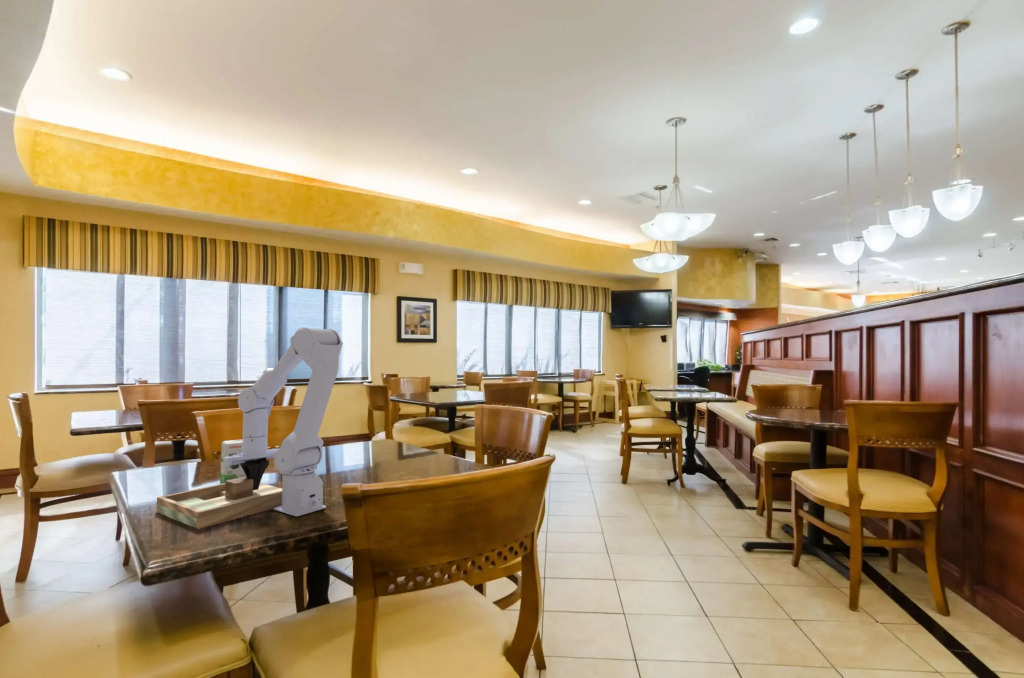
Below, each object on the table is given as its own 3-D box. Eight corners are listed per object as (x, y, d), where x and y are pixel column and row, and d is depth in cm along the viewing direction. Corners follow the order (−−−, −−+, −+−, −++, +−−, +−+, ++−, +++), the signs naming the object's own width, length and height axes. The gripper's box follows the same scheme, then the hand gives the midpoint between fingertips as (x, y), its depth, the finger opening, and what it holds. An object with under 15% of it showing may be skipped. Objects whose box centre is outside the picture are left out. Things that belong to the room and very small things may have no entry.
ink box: (223, 485, 139) (224, 443, 139) (219, 481, 143) (220, 441, 143) (256, 480, 145) (257, 440, 145) (252, 477, 148) (252, 438, 149)
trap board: (300, 501, 124) (300, 487, 124) (198, 529, 104) (199, 512, 104) (256, 489, 135) (256, 476, 135) (156, 512, 115) (156, 497, 115)
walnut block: (253, 495, 122) (253, 479, 122) (234, 500, 118) (235, 483, 118) (243, 492, 124) (243, 477, 124) (225, 497, 121) (225, 480, 121)
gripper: (273, 430, 133) (272, 480, 133) (217, 438, 121) (216, 493, 120) (288, 433, 129) (287, 484, 129) (232, 440, 117) (231, 498, 117)
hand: (253, 489), depth 124 cm, fingers closed
